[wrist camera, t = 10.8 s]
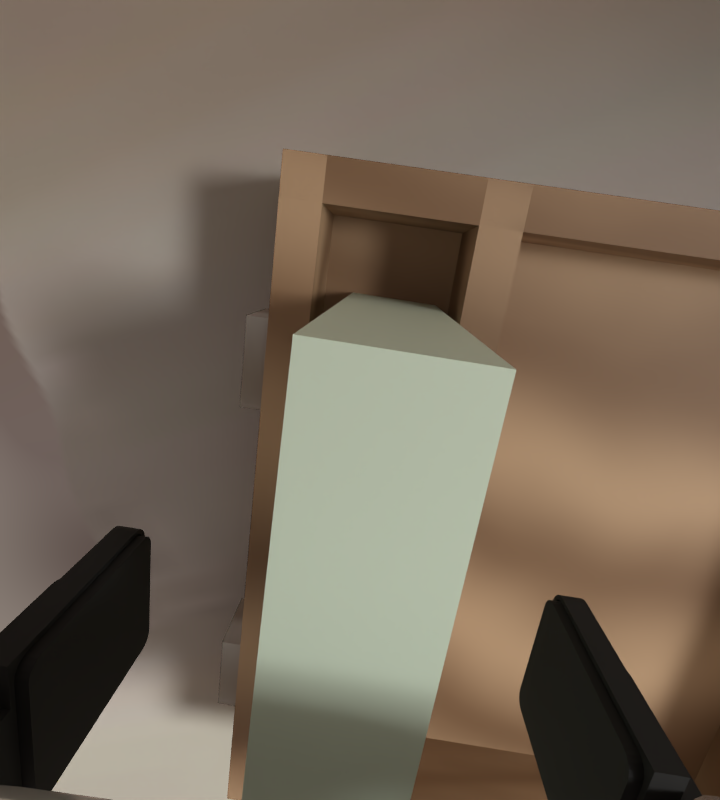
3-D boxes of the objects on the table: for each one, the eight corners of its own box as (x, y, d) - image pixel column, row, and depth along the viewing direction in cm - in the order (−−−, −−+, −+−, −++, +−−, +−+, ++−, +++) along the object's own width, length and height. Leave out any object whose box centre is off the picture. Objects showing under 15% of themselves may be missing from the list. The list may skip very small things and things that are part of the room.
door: (349, 291, 14) (284, 333, 5) (434, 305, 14) (516, 368, 5) (296, 674, 18) (205, 1071, 9) (362, 685, 17) (337, 1094, 9)
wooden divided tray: (288, 174, 14) (255, 144, 10) (927, 266, 14) (1106, 265, 10) (240, 703, 19) (209, 795, 16) (695, 777, 19) (761, 886, 16)
